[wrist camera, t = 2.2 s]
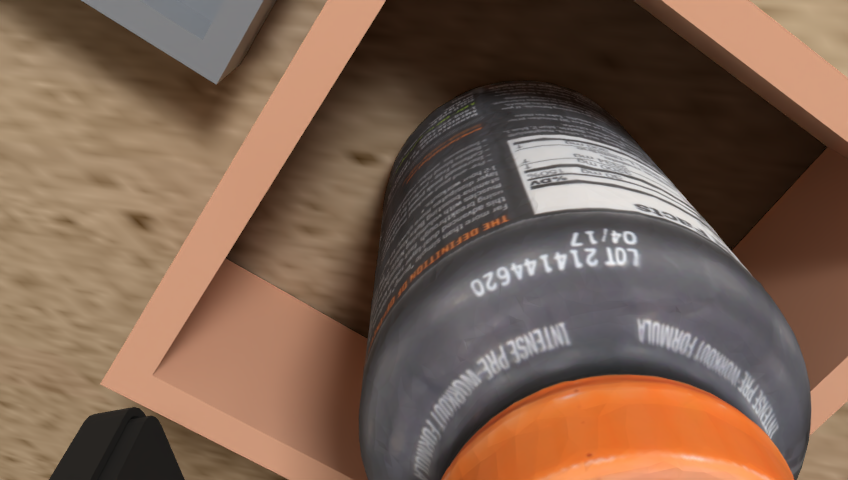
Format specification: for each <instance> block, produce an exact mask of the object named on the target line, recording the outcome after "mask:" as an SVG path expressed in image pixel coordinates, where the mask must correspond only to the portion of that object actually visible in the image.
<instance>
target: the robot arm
mask: <svg viewBox="0 0 848 480" xmlns="http://www.w3.org/2000/svg"><path fill="white" fill-rule="evenodd" d="M49 480H185V479H184V477H183V475H182V473H181V470H180V468H179V466H178V463H177V461H176V459H175V456H174V454H173V452H172V449H171V447H170V445H169V442H168V440H167V438H166V435H165V433H164V431H163V428H162V426H161V424H160V422H159V420H158V419H157V418H156V417H154V416H147V417H146V416H145V414H144V412H142V411H141V410H140V409H139V408H136V407H132V408H126V409H121V410H115V411H110V412H104V413H98V414H94V415H91V416H89V417H88V418H87V419H86V420H85V421H84V423H83V425H82V426H81V428H80V430H79V431H78V433H77V434H76V436H75V438H74V439H73V441H72V443H71V444H70V446H69V448H68V449H67V451H66V453H65V454H64V456H63V458H62V459H61V461H60V462H59V464H58V466H57V467H56V469H55V471H54V472H53V474H52V476H51V477H50V479H49Z"/></svg>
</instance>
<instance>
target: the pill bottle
mask: <svg viewBox="0 0 848 480" xmlns="http://www.w3.org/2000/svg"><path fill="white" fill-rule="evenodd" d="M810 427H811V393H810V382H809V378H808V374H807V369H806V364H805V361H804V358H803V355H802V352H801V349H800V346H799V344H798V341H797V339H796V336H795V334H794V332H793V330H792V329H791V327H790V325H789V324H788V322H787V320H786V319H785V317H784V315H783V314H782V312H781V311H780V309H779V308H778V306H777V305H776V303H775V302H774V301H773V299H772V298H771V296H770V295H769V294H768V293H767V292H766V291H765V289H764V288H763V286H762V284H761V283H760V282H758V281H757V280H756V279H755V278H754V277H753V276H752V275H751V274H750V272H749V271H748V270H747V269H746V268H745V267H744V265H743V264H742V263H741V262H740V261H739V259H738V258H737V257H736V256H735V255H734V253H733V252H732V251H731V250H730V249H729V248H728V247H727V246H726V244H725V243H724V242H723V241H722V239H721V238H720V237H719V236H718V234H717V233H716V232H715V231H714V229H713V228H712V227H711V226H710V225H709V224H708V223H707V222H706V220H705V219H704V218H703V217H702V216H701V215H700V214H699V213H698V212H697V211H696V210H695V209H694V207H693V206H692V205H691V204H690V203H689V202H688V201H687V199H686V198H685V197H684V196H683V195H682V193H680V191H679V190H678V189H677V188H676V187H675V186H674V184H673V183H672V182H671V181H670V180H669V179H668V178H667V176H666V175H665V174H664V173H663V172H662V171H661V169H660V168H658V166H657V165H656V164H655V163H654V162H653V161H652V160H651V159H650V157H649V156H648V155H647V154H646V153H645V152H644V151H643V150H642V148H641V147H640V146H639V145H638V144H637V142H636V141H635V140H634V139H633V138H632V137H631V135H630V134H629V133H628V132H627V131H626V130H625V129H624V128H623V127H622V126H621V124H620V123H619V122H618V121H617V120H616V119H615V118H614V117H613V116H611V115H610V114H609V113H608V112H607V111H606V110H604V109H603V108H602V107H600V106H599V105H598V104H596V103H595V102H594V101H592V100H590V99H589V98H587V97H585V96H584V95H582V94H580V93H578V92H575V91H573V90H571V89H568V88H565V87H562V86H558V85H554V84H550V83H545V82H536V81H507V82H500V83H495V84H490V85H486V86H482V87H479V88H475V89H472V90H469V91H467V92H465V93H464V94H462V95H460V96H458V97H456V98H454V99H452V100H451V101H449V102H447V103H445V104H444V105H442V106H441V107H439V108H437V109H436V110H435V111H433V112H432V113H431V114H430V115H429V116H428V117H427V118H426V119H425V120H424V121H423V122H422V123H421V124H420V125H419V126H418V127H417V129H416V130H415V131H414V132H413V133H412V134H411V135H410V136H409V138H408V139H407V141H406V143H405V144H404V146H403V147H402V149H401V151H400V152H399V154H398V156H397V158H396V160H395V162H394V165H393V168H392V171H391V174H390V178H389V182H388V186H387V190H386V194H385V199H384V205H383V217H382V223H381V234H380V242H379V251H378V259H377V267H376V271H375V283H374V290H373V299H372V307H371V317H370V327H369V335H368V341H367V350H366V357H365V364H364V370H363V380H362V391H361V398H360V406H359V443H360V451H361V458H362V462H363V465H364V468H365V472H366V475H367V478H368V480H797V478H798V475H799V473H800V470H801V468H802V464H803V461H804V457H805V453H806V450H807V445H808V441H809V435H810Z"/></svg>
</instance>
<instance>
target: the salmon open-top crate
mask: <svg viewBox="0 0 848 480" xmlns="http://www.w3.org/2000/svg"><path fill="white" fill-rule="evenodd" d="M385 1H386V0H327V2H326V4H325V5H324V7H323V9H322V10H321V12H320V14H319V16H318V17H317V19H316V21H315V22H314V24H313V26H312V27H311V29H310V31H309V32H308V34H307V36H306V38H305V39H304V41H303V43H302V44H301V46H300V48H299V49H298V51H297V53H296V54H295V56H294V58H293V59H292V61H291V63H290V65H289V66H288V68H287V70H286V71H285V73H284V75H283V76H282V78H281V80H280V81H279V83H278V85H277V86H276V88H275V90H274V92H273V93H272V95H271V97H270V98H269V100H268V102H267V103H266V105H265V107H264V108H263V110H262V112H261V113H260V115H259V117H258V119H257V120H256V122H255V124H254V125H253V127H252V129H251V130H250V132H249V134H248V135H247V137H246V139H245V141H244V142H243V144H242V146H241V147H240V149H239V151H238V152H237V154H236V156H235V157H234V159H233V161H232V162H231V164H230V166H229V168H228V169H227V171H226V173H225V174H224V176H223V178H222V179H221V181H220V183H219V184H218V186H217V188H216V189H215V191H214V193H213V195H212V196H211V198H210V200H209V201H208V203H207V205H206V206H205V208H204V210H203V211H202V213H201V215H200V216H199V218H198V220H197V222H196V223H195V225H194V227H193V228H192V230H191V232H190V233H189V235H188V237H187V238H186V240H185V242H184V243H183V245H182V247H181V249H180V250H179V252H178V254H177V255H176V257H175V259H174V260H173V262H172V264H171V265H170V267H169V269H168V271H167V272H166V274H165V276H164V277H163V279H162V281H161V282H160V284H159V286H158V287H157V289H156V291H155V292H154V294H153V296H152V298H151V299H150V301H149V303H148V304H147V306H146V308H145V309H144V311H143V313H142V314H141V316H140V318H139V319H138V321H137V323H136V325H135V326H134V328H133V330H132V331H131V333H130V335H129V336H128V338H127V340H126V341H125V343H124V345H123V346H122V348H121V350H120V352H119V353H118V355H117V357H116V358H115V360H114V362H113V363H112V365H111V367H110V368H109V370H108V372H107V374H106V375H105V377H104V379H103V380H102V382H101V385H103V386H105V387H107V388H109V389H111V390H113V391H115V392H117V393H119V394H121V395H123V396H125V397H127V398H129V399H130V400H132V401H134V402H136V403H138V404H140V405H142V406H144V407H146V408H148V409H150V410H152V411H154V412H156V413H158V414H160V415H162V416H164V417H166V418H168V419H170V420H172V421H174V422H176V423H178V424H180V425H182V426H184V427H186V428H188V429H190V430H192V431H194V432H196V433H198V434H200V435H202V436H204V437H206V438H208V439H210V440H212V441H214V442H216V443H218V444H219V445H221V446H223V447H225V448H227V449H229V450H231V451H233V452H235V453H237V454H239V455H241V456H243V457H245V458H247V459H249V460H251V461H253V462H255V463H257V464H259V465H261V466H263V467H265V468H267V469H269V470H271V471H273V472H275V473H277V474H279V475H281V476H283V477H285V478H287V479H289V480H368V478H367V475H366V472H365V468H364V465H363V462H362V458H361V451H360V443H359V406H360V398H361V391H362V380H363V370H364V364H365V357H366V350H367V341H368V339H367V338H365V337H363V336H362V335H360V334H358V333H356V332H355V331H353V330H351V329H349V328H347V327H346V326H344V325H342V324H340V323H339V322H337V321H335V320H333V319H332V318H330V317H328V316H326V315H325V314H323V313H321V312H319V311H318V310H316V309H314V308H312V307H310V306H309V305H307V304H305V303H303V302H302V301H300V300H298V299H296V298H295V297H293V296H291V295H289V294H288V293H286V292H284V291H282V290H281V289H279V288H277V287H275V286H274V285H272V284H270V283H268V282H266V281H265V280H263V279H261V278H259V277H258V276H256V275H254V274H252V273H251V272H249V271H247V270H245V269H244V268H242V267H240V266H238V265H237V264H235V263H233V262H231V261H229V260H228V259H226V256H227V255H228V253H229V251H230V250H231V248H232V247H233V245H234V243H235V242H236V240H237V239H238V237H239V235H240V234H241V232H242V230H243V229H244V227H245V226H246V224H247V222H248V221H249V219H250V218H251V216H252V214H253V213H254V211H255V210H256V208H257V206H258V205H259V203H260V202H261V200H262V198H263V197H264V195H265V194H266V192H267V190H268V189H269V187H270V186H271V184H272V182H273V181H274V179H275V178H276V176H277V174H278V173H279V171H280V169H281V168H282V166H283V165H284V163H285V161H286V160H287V158H288V157H289V155H290V153H291V152H292V150H293V149H294V147H295V145H296V144H297V142H298V141H299V139H300V137H301V136H302V134H303V133H304V131H305V129H306V128H307V126H308V125H309V123H310V121H311V120H312V118H313V116H314V115H315V113H316V112H317V110H318V108H319V107H320V105H321V104H322V102H323V100H324V99H325V97H326V96H327V94H328V92H329V91H330V89H331V88H332V86H333V84H334V83H335V81H336V80H337V78H338V76H339V75H340V73H341V72H342V70H343V68H344V67H345V65H346V63H347V62H348V60H349V59H350V57H351V55H352V54H353V52H354V51H355V49H356V47H357V46H358V44H359V43H360V41H361V39H362V38H363V36H364V35H365V33H366V31H367V30H368V28H369V27H370V25H371V23H372V22H373V20H374V19H375V17H376V15H377V14H378V12H379V11H380V9H381V7H382V6H383V4H384V2H385ZM633 1H634V2H636V3H637V4H638V5H640V6H641V7H642V8H644V9H645V10H646V11H648V12H649V13H650V14H652V15H653V16H654V17H656V18H657V19H658V20H660V21H661V22H662V23H664V24H665V25H666V26H668V27H669V28H670V29H672V30H673V31H674V32H676V33H677V34H678V35H680V36H681V37H682V38H683V39H685V40H686V41H687V42H689V43H690V44H691V45H693V46H694V47H695V48H697V49H698V50H699V51H701V52H702V53H703V54H705V55H706V56H707V57H709V58H710V59H711V60H713V61H714V62H715V63H717V64H718V65H719V66H721V67H722V68H723V69H725V70H726V71H727V72H729V73H730V74H731V75H733V76H734V77H735V78H737V79H738V80H739V81H741V82H742V83H743V84H745V85H746V86H747V87H749V88H750V89H751V90H753V91H754V92H755V93H757V94H758V95H759V96H760V97H762V98H763V99H764V100H766V101H767V102H768V103H770V104H771V105H772V106H774V107H775V108H776V109H778V110H779V111H780V112H782V113H783V114H784V115H786V116H787V117H788V118H790V119H791V120H792V121H794V122H795V123H796V124H798V125H799V126H800V127H802V128H803V129H804V130H806V131H807V132H808V133H810V134H811V135H812V136H814V137H815V138H816V139H818V140H819V141H820V142H822V143H823V144H824V145H826V146H827V148H826V149H825V151H824V152H823V153H822V154H821V155H820V156H819V157H818V158H817V159H816V160H815V161H814V162H813V164H812V165H811V166H810V167H809V168H808V169H807V170H806V171H805V172H804V173H803V174H802V175H801V176H800V178H799V179H798V180H797V181H796V182H795V183H794V184H793V185H792V186H791V187H790V188H789V189H788V191H787V192H786V193H785V194H784V195H783V196H782V197H781V198H780V199H779V200H778V201H777V202H776V204H775V205H774V206H773V207H772V208H771V209H770V210H769V211H768V212H767V213H766V214H765V215H764V216H763V218H762V219H761V220H760V221H759V222H758V223H757V224H756V225H755V226H754V227H753V228H752V229H751V231H750V232H749V233H748V234H747V235H746V236H745V237H744V238H743V239H742V240H741V241H740V242H739V244H738V245H737V246H736V247H735V248H734V249H733V250H732V252H733V253H734V255H735V256H736V257H737V258H738V259H739V261H740V262H741V263H742V264H743V265H744V267H745V268H746V269H747V270H748V271H749V272H750V274H751V275H752V276H753V277H754V278H755V279H756V280H757V281H758V282H760V283H761V284H762V286H763V288H764V289H765V291H766V292H767V293H768V294H769V295H770V296H771V298H772V299H773V301H774V302H775V303H776V305H777V306H778V308H779V309H780V311H781V312H782V314H783V315H784V317H785V319H786V320H787V322H788V324H789V325H790V327H791V329H792V330H793V332H794V334H795V336H796V339H797V341H798V344H799V346H800V349H801V352H802V355H803V358H804V361H805V364H806V369H807V374H808V378H809V382H810V393H811V427H810V435H811V434H812V433H813V432H814V431H815V430H816V429H817V428H818V427H819V426H821V425H822V424H823V423H824V422H825V421H826V420H827V419H828V418H829V417H830V416H832V415H833V414H834V413H835V412H836V411H837V410H838V409H839V408H840V407H841V406H842V405H844V404H845V403H846V402H847V401H848V78H847V77H846V76H845V75H843V74H842V73H841V72H840V71H838V70H837V69H836V68H834V67H833V66H832V65H831V64H829V63H828V62H827V61H826V60H824V59H823V58H822V57H820V56H819V55H818V54H817V53H815V52H814V51H813V50H812V49H810V48H809V47H808V46H807V45H805V44H804V43H803V42H801V41H800V40H799V39H798V38H796V37H795V36H794V35H793V34H791V33H790V32H789V31H787V30H786V29H785V28H784V27H782V26H781V25H780V24H779V23H777V22H776V21H775V20H774V19H772V18H771V17H770V16H768V15H767V14H766V13H765V12H763V11H762V10H761V9H760V8H758V7H757V6H756V5H754V4H753V3H752V2H751V1H749V0H633ZM810 435H809V436H810Z"/></svg>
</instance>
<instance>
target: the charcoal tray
mask: <svg viewBox="0 0 848 480" xmlns="http://www.w3.org/2000/svg"><path fill="white" fill-rule="evenodd" d="M81 1H83V2H84V3H86V4H88V5H89V6H91V7H92V8H94V9H96V10H97V11H99V12H100V13H102V14H104V15H105V16H107V17H109V18H110V19H112V20H113V21H115V22H117V23H118V24H120V25H121V26H123V27H125V28H126V29H128V30H129V31H131V32H133V33H134V34H136V35H137V36H139V37H141V38H142V39H144V40H145V41H147V42H149V43H150V44H152V45H153V46H155V47H157V48H158V49H160V50H162V51H163V52H165V53H166V54H168V55H170V56H171V57H173V58H174V59H176V60H178V61H179V62H181V63H182V64H184V65H186V66H187V67H189V68H190V69H192V70H194V71H195V72H197V73H198V74H200V75H202V76H203V77H205V78H206V79H208V80H210V81H211V82H213V83H214V84H216V85H217V84H218V83H219V82H220V81H221V80H222V79H224V78H225V77H226V76H227V75H228V74H229V73H231V72H232V71H233V70H234V69H235V68H236V67H237V66H239V65H240V64H241V62H242V60H243V58H244V57H245V55H246V53H247V51H248V50H249V48H250V46H251V44H252V43H253V41H254V39H255V37H256V35H257V34H258V32H259V30H260V28H261V27H262V25H263V23H264V21H265V20H266V18H267V16H268V14H269V12H270V11H271V9H272V7H273V5H274V4H275V2H276V0H81Z"/></svg>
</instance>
